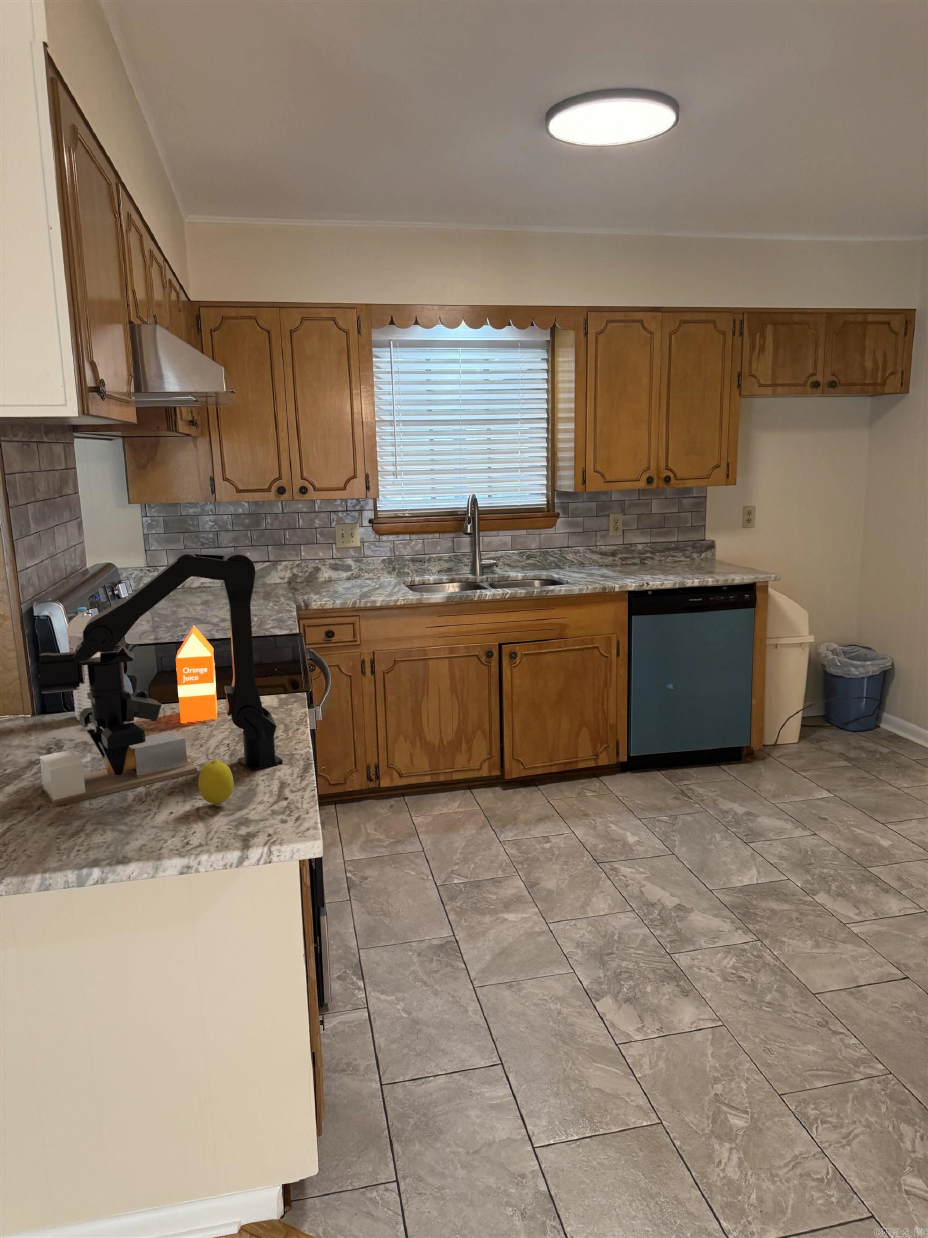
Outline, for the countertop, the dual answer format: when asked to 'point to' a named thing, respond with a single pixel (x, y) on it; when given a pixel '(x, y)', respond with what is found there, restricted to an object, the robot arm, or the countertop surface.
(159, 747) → the steel sleeve
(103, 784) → the walnut board
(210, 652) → the orange juice
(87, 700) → the water bottle
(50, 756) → the white socket
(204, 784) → the lemon
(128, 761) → the orange tube
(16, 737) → the countertop surface
